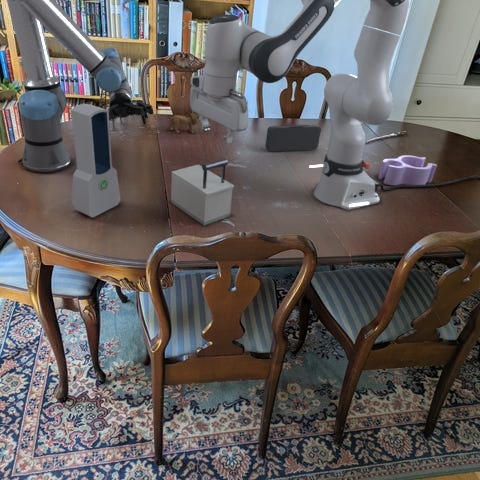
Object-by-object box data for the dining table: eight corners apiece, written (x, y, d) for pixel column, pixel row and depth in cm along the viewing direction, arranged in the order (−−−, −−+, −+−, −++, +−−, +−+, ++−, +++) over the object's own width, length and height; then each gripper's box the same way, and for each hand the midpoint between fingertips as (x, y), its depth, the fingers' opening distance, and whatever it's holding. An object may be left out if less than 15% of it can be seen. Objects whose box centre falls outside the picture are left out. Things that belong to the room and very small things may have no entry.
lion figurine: (198, 128, 202) (199, 107, 197) (202, 132, 198) (203, 111, 193) (165, 129, 197) (165, 108, 192) (167, 134, 193) (168, 112, 188)
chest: (230, 215, 141) (232, 187, 136) (203, 225, 135) (205, 196, 130) (196, 194, 151) (198, 166, 146) (171, 202, 145) (171, 174, 140)
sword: (403, 131, 224) (404, 129, 223) (408, 133, 222) (409, 131, 221) (360, 143, 208) (360, 140, 207) (365, 145, 206) (366, 142, 205)
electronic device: (90, 219, 132) (80, 115, 116) (71, 210, 135) (59, 108, 119) (121, 203, 141) (116, 105, 125) (103, 195, 144) (96, 99, 128)
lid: (233, 188, 136) (236, 162, 131) (206, 196, 130) (208, 169, 125) (198, 166, 146) (199, 142, 141) (171, 173, 140) (171, 148, 135)
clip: (390, 188, 168) (396, 170, 164) (372, 173, 178) (376, 156, 174) (435, 185, 175) (441, 168, 171) (415, 170, 184) (420, 154, 181)
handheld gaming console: (315, 147, 196) (319, 124, 190) (317, 149, 194) (322, 126, 188) (264, 149, 189) (267, 125, 183) (266, 152, 187) (269, 127, 181)
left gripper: (160, 106, 160) (165, 127, 143) (88, 122, 158) (84, 145, 141) (154, 84, 156) (159, 103, 139) (80, 100, 154) (75, 122, 136)
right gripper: (257, 94, 115) (251, 147, 122) (205, 74, 127) (203, 123, 134) (238, 97, 111) (233, 152, 118) (186, 76, 123) (185, 127, 131)
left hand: (121, 125), depth 140 cm, fingers open, 13 cm apart
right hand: (216, 136), depth 126 cm, fingers open, 8 cm apart
